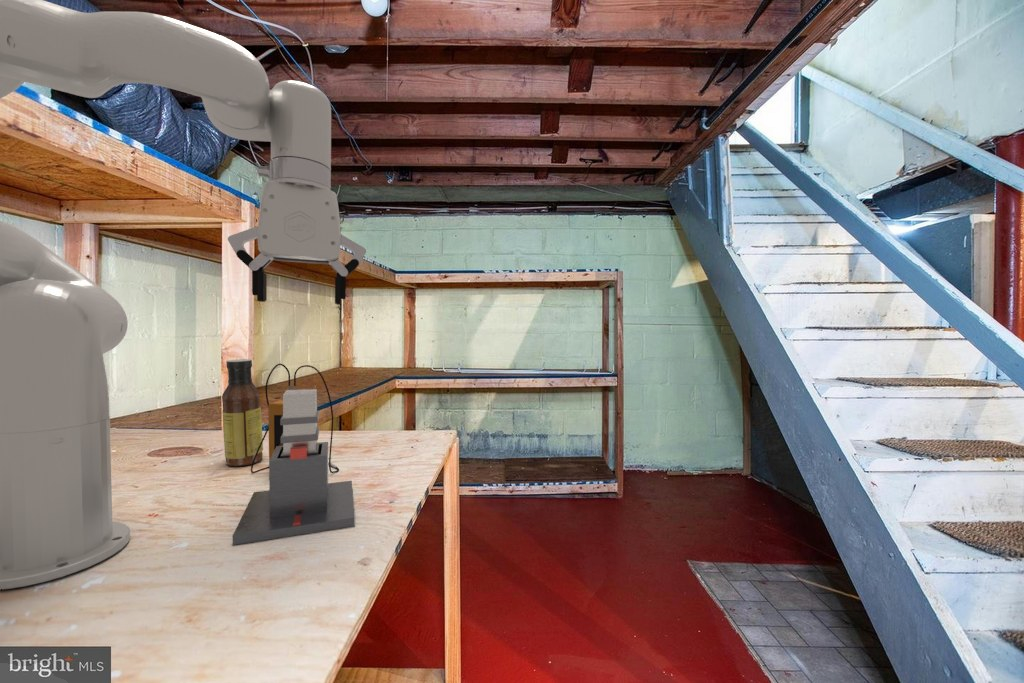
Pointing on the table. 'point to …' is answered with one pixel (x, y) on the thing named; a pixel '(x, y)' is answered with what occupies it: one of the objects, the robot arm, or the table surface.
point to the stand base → (296, 499)
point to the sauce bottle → (241, 415)
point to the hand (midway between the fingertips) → (301, 302)
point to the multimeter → (276, 414)
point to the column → (300, 421)
